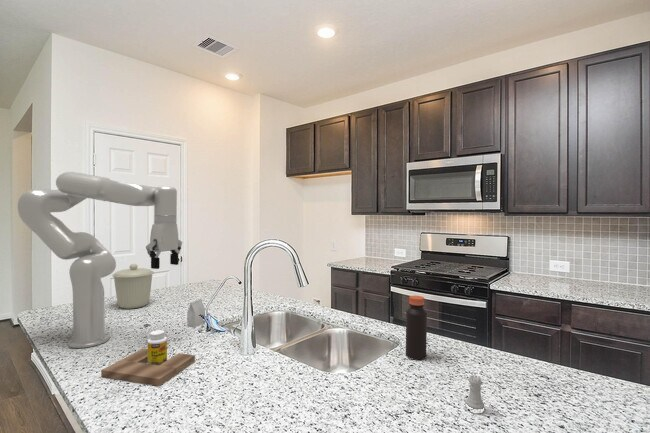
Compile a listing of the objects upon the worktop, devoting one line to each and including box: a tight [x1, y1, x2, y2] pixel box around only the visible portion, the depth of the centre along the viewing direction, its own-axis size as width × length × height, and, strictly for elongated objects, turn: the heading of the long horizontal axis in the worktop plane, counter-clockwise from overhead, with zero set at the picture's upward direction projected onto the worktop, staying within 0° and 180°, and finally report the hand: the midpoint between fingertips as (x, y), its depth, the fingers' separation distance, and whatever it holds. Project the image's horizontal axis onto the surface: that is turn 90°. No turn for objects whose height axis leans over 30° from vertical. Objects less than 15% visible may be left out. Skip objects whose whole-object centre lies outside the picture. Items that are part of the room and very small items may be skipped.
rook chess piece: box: [465, 375, 485, 409], centre depth 86 cm, size 4×4×8 cm
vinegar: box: [405, 294, 428, 360], centre depth 116 cm, size 7×7×20 cm
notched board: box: [100, 348, 196, 387], centre depth 106 cm, size 20×16×2 cm
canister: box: [111, 263, 154, 310], centre depth 172 cm, size 18×18×21 cm
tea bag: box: [186, 298, 206, 328], centre depth 146 cm, size 4×7×10 cm, turn 164°
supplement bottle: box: [147, 329, 168, 365], centre depth 109 cm, size 6×6×10 cm
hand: (165, 266), depth 128 cm, fingers open, 9 cm apart
